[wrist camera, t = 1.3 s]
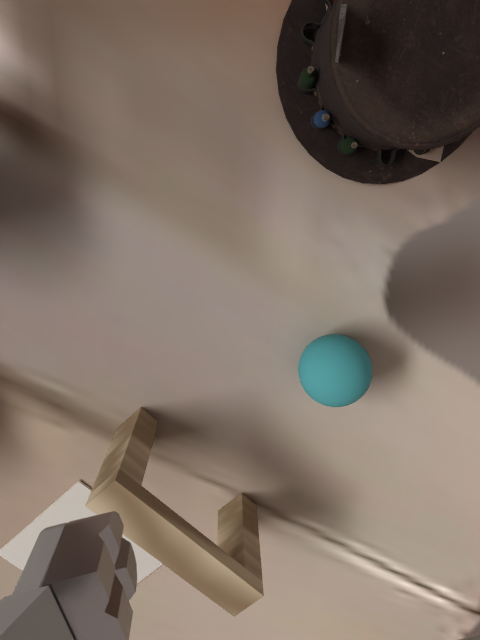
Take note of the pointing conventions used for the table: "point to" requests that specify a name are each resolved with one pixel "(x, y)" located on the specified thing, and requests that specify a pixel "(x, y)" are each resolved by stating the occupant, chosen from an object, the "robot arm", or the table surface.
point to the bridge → (179, 523)
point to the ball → (335, 370)
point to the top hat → (380, 82)
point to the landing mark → (64, 512)
